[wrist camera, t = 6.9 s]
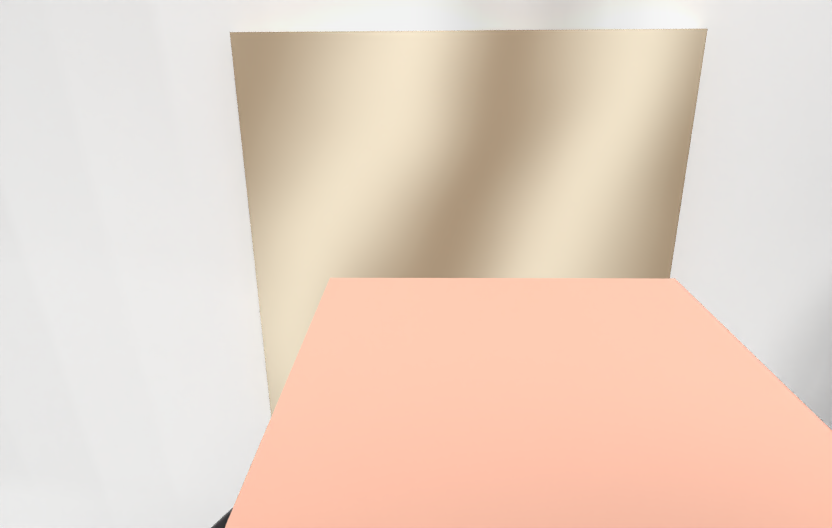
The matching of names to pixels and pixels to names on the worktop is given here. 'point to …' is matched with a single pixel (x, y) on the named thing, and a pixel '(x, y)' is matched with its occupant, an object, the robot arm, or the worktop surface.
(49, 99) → the worktop surface
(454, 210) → the birch board
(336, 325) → the coral cube
